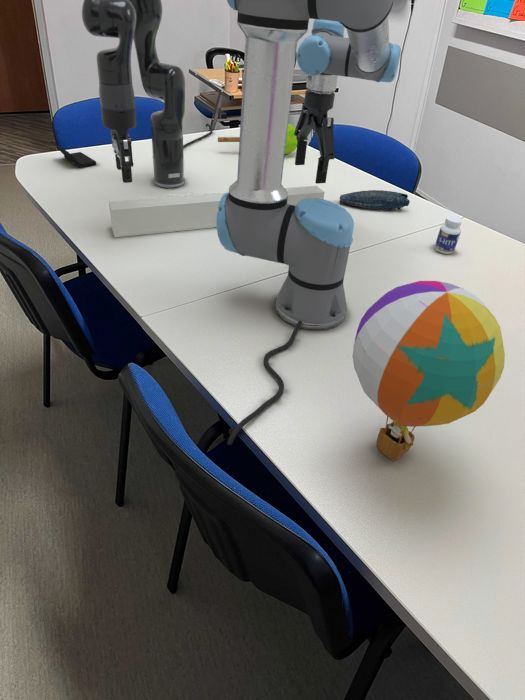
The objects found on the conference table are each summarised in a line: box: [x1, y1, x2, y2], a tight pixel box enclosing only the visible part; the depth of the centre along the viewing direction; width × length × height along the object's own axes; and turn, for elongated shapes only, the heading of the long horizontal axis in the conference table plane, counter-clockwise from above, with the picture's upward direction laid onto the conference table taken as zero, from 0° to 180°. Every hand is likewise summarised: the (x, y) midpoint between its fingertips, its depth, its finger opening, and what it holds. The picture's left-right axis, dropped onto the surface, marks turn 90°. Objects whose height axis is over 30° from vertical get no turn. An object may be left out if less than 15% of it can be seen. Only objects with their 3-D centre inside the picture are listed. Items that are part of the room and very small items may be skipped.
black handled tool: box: [52, 142, 97, 168], centre depth 169 cm, size 12×7×10 cm
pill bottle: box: [434, 215, 463, 255], centre depth 137 cm, size 5×5×9 cm
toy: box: [352, 280, 506, 462], centre depth 74 cm, size 20×20×30 cm
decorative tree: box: [217, 123, 298, 155], centre depth 187 cm, size 18×10×30 cm
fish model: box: [339, 189, 411, 211], centre depth 158 cm, size 7×21×5 cm, turn 84°
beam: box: [108, 185, 325, 238], centre depth 141 cm, size 59×5×7 cm, turn 111°
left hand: (124, 175), depth 126 cm, fingers open, 8 cm apart
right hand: (309, 173), depth 144 cm, fingers open, 13 cm apart
